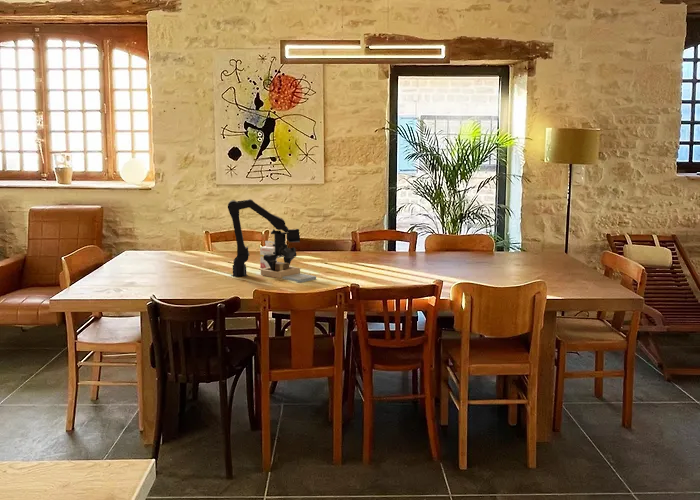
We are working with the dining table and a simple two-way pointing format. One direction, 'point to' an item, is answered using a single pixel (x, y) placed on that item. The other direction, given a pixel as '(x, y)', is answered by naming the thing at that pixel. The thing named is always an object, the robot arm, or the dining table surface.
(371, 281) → the dining table surface
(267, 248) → the ink cartridge box
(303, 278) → the trivet
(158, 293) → the dining table surface
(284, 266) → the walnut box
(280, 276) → the beige shallow square tray
